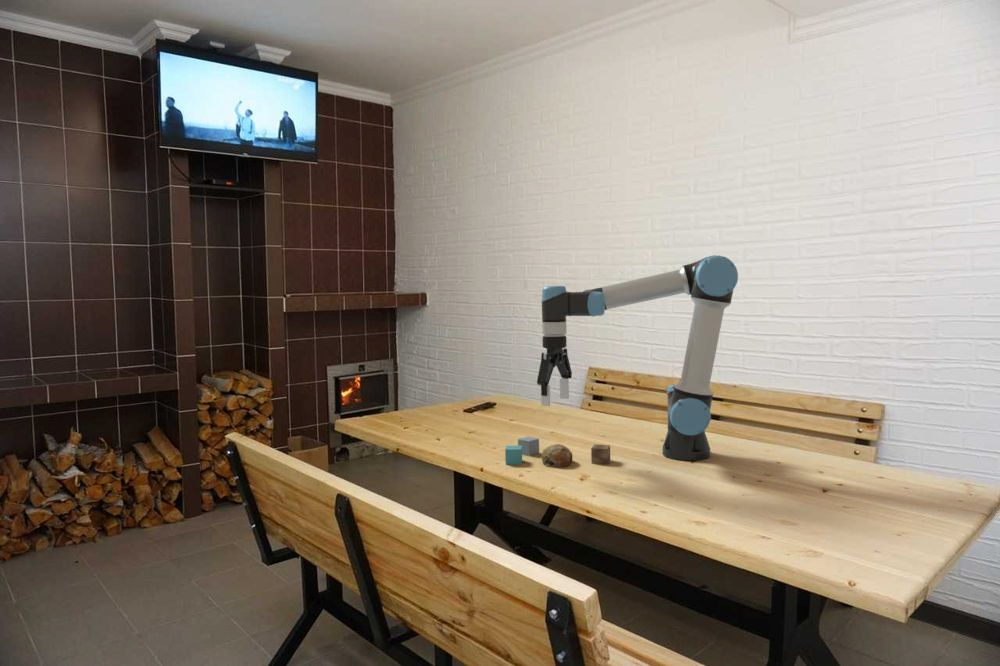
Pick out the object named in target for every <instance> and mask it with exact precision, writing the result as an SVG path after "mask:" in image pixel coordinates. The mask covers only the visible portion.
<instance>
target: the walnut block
mask: <svg viewBox="0 0 1000 666" xmlns="http://www.w3.org/2000/svg"><path fill="white" fill-rule="evenodd" d="M590 449H591V451H590V452H591V453H590V455H591V458H590V459H591V460H590V461H591V464H596V465H608V464H609V463H610V461H611V445H610V444H599V443H598V444H594V445H592V447H591V448H590Z"/></svg>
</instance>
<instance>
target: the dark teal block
mask: <svg viewBox="0 0 1000 666" xmlns="http://www.w3.org/2000/svg"><path fill="white" fill-rule="evenodd" d="M505 446H506V447H505V449H504V451H505V465H509V466H510V465H512V466H513V465H516V466H519V465H520V466H521V465H522V463H523V454H522V445H518V444H517V445H505Z"/></svg>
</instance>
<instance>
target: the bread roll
mask: <svg viewBox="0 0 1000 666" xmlns="http://www.w3.org/2000/svg"><path fill="white" fill-rule="evenodd" d="M541 461H542V464H543V465H544V466H545V467H550V468H551V467H552V468H566V467H569V466H571V465H572V462H573V453H572V451H571V450H570V448H568V447H567V446H565V445H563V444H561V443H555V444H551V445H549V446H547V447H545V448H544V449H543V451H542V453H541Z"/></svg>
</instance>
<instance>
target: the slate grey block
mask: <svg viewBox="0 0 1000 666" xmlns="http://www.w3.org/2000/svg"><path fill="white" fill-rule="evenodd" d="M517 445H522V456H528V457H531V456H533V455H537V454H540V438H537V437H533V436H529V435H528V436H524V437H521V438H518V439H517Z"/></svg>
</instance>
